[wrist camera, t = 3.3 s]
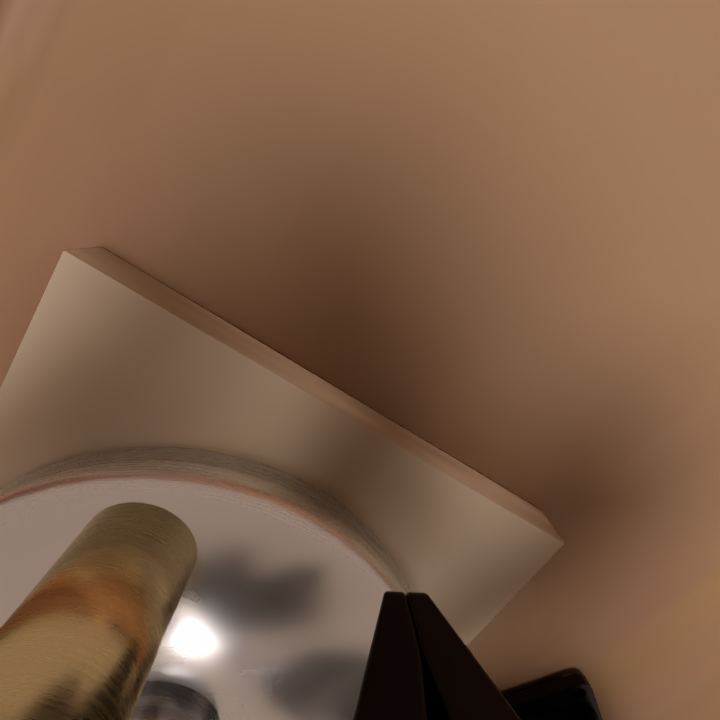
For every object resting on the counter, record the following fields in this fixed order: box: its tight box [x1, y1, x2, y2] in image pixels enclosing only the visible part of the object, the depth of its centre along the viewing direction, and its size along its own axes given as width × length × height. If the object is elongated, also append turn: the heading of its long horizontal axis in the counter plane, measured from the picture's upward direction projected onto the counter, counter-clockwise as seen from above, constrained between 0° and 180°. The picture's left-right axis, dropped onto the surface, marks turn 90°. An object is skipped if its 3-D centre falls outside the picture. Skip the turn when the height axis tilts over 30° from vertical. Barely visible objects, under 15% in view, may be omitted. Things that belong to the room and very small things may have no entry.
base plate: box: [0, 247, 565, 646], centre depth 13 cm, size 15×18×2 cm
